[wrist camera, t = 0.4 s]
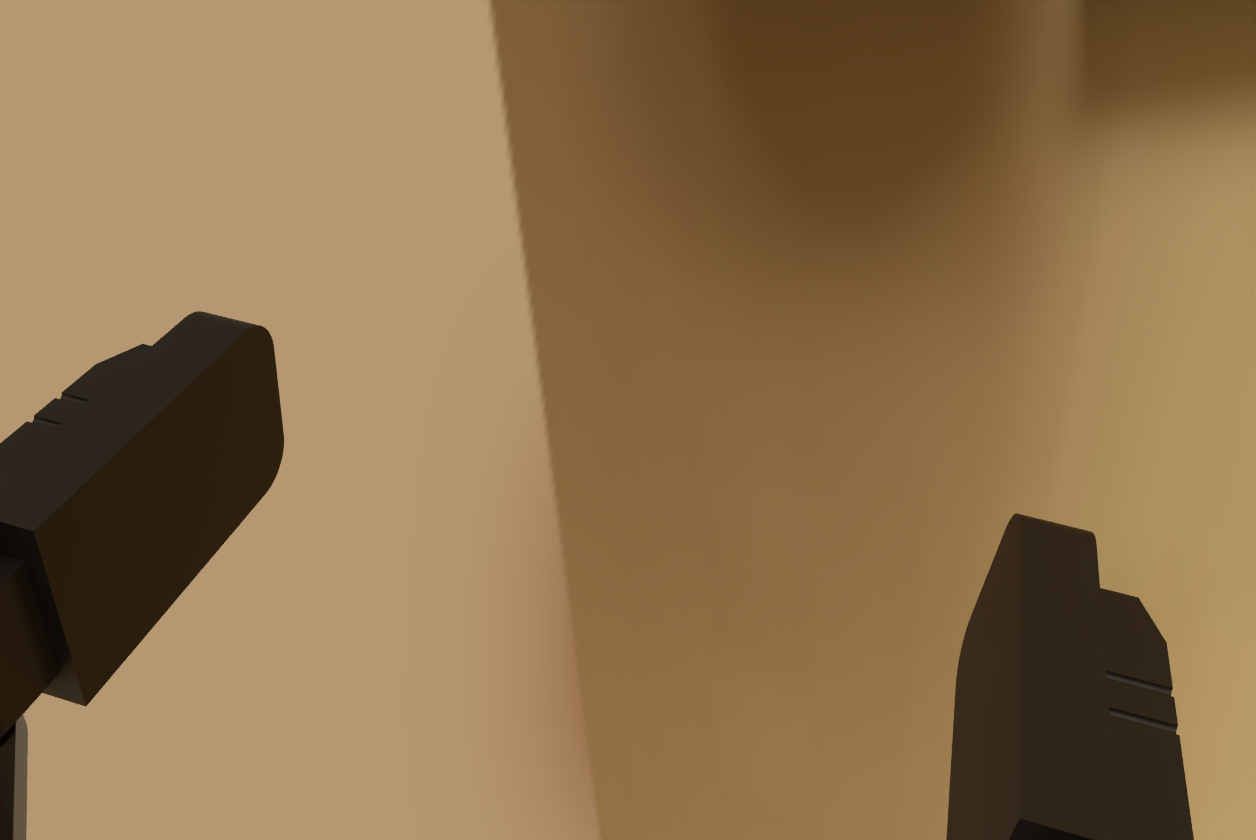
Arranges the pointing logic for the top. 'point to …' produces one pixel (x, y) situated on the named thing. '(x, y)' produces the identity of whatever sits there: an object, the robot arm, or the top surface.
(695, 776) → the top surface
